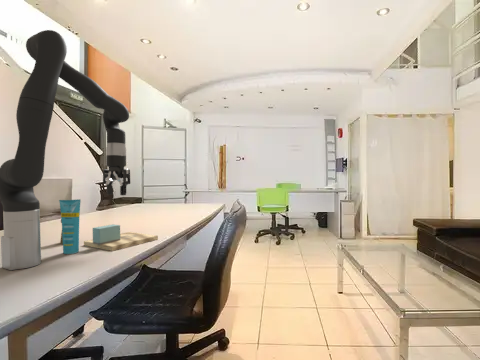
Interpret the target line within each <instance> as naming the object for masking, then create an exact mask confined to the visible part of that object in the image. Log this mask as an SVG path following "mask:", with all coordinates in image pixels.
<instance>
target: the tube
mask: <svg viewBox="0 0 480 360" xmlns="http://www.w3.org/2000/svg"><path fill="white" fill-rule="evenodd" d="M58 202H59V208H60V209H59V210H60V221H61V220H62V223H61V232H62V236H63V244H62V250H63V251H62V253H63V254H64V255H74V254H77V253H79V252H80V251H79V250H80V213H81V203H82V201H81V198H80V199H59V200H58Z"/></svg>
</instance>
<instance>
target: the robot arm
mask: <svg viewBox="0 0 480 360" xmlns="http://www.w3.org/2000/svg"><path fill="white" fill-rule="evenodd" d="M67 47H68V46H67V42H66V41H65V39H64V37H63V36H62V35H61V34H60V33H59V32H57V31H55V30H52V29H49V30H48V29H46V30H42V31H39V32H37V33H35V34H34V35H31V36H29V38H27V40H26V41H25V48H26V51H27V53H28V55H29V57H31V58H32V60H34V61H35V63H34V67H33V69H32V71H31V73H30V76H29V77H28V79H27V80H26V82H25V84H24V85H23V88H22V90H21V92H20V95H19V99H18V103H17V108H16V114H15V115H16V116H15V117H16V124H17V129H18V130H17V131H18V144H17V150H16V152H15V156H14V158H11V159H8V160H5V162H3V163H2V164H1V166H0V203H1V205H2V211H3V213H2V214H3V215H2V217H3V218H2V219H3V222H2V223H3V235H1V236H0V247H1V248H0V251H1V255H0V256H1V268H3V269H4V270H8V271H14V270H22V269H26V268H27V269H28V268H32V267H36V266H38V265H40V264H41V263H42V249H41V248H42V247H41V246H42V245H41V242H42V241H41V213H40V212H41V211H40V210H41V209H40V205H41V204H40V200H39V199H38V198H37V197H36V195H35V190H34V188H35V187H37V185H39V184H40V182H41V181H42V180H43V176H44V173H45V172H44V170H45V159H46V158H45V156H46V146H47V141H48V136H49V132H50V131H49V130H50V126H51V121H52V118H53V112H54V106H55V100H56V95H57V90H58V85H59V79H61V80H62V81H63V82H65V83H66V84H68V86H70V87H72V88H73V89H74V90H75V91H77V92H78V93H79V94H80V95H81V96H83V98H85V99H86V100H87V101H88V102H89V103H90V104H91V105H92V106H94V107H95V108H97V109H101V110H103V113H102V119H103V124H104V125H103V126H104V128H105V131H106V148H105V153H106V155H105V163H106V164H105V165H106V167H108V169H103V170H102V171H103V172H102V184H104V185H105V186H106V194H107V196H108V195H109V196H111V195H113V189H114V187H113V186H114V185H113V184H114V182H116V181H117V182H118V183H119V184H120V186H119V194H120V196H126V195H127V187H128V185H130V184H131V170H130V169H129V168H125V167H126V166H127V147H126V145H127V144H126V132H125V130H124V129H122V128H120V124H122V123H125V122H127V121H128V120H129V118H130V112H129V110H128V107H126V106H125V104H124V103H122V102H121V101H120V100H118V99H116V98H114V97H113V96H112V95H110V94H108V93H107V91H105V90H104V89H103V88H102V86H101V85H100V84H98V82H96V81H95V80H93V79H92V78H91V77H89V76H88V75H85V74H84V73H82V72H81V71H79V70H77V69H75V68H74V67H73V66H71V65H70V64H69V63H67V61H65V60H66V57H67V53H68V51H67V50H68V48H67Z"/></svg>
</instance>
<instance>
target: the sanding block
mask: <svg viewBox="0 0 480 360" xmlns="http://www.w3.org/2000/svg"><path fill="white" fill-rule="evenodd" d="M120 234H121V225H120V224H108V225H107V224H106V225H102V226H96V227H92V240H93V244H99V245H101V244H105V243H110V242H114V241H119V240H120Z"/></svg>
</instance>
